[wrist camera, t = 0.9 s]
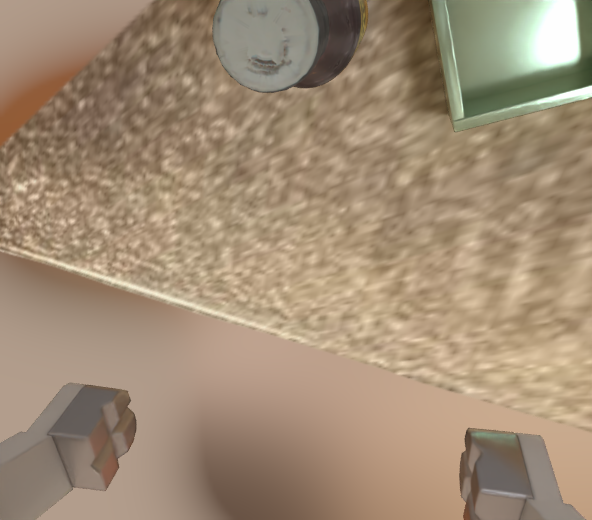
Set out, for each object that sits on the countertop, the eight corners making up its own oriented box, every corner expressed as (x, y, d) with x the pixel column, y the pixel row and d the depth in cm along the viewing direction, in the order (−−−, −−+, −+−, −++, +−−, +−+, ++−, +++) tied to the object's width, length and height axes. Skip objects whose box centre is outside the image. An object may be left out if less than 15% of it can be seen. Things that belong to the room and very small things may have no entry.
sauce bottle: (333, 79, 37) (278, 169, 20) (265, 25, 36) (147, 71, 19) (391, -1, 34) (383, 26, 17) (318, -63, 33) (233, -100, 16)
